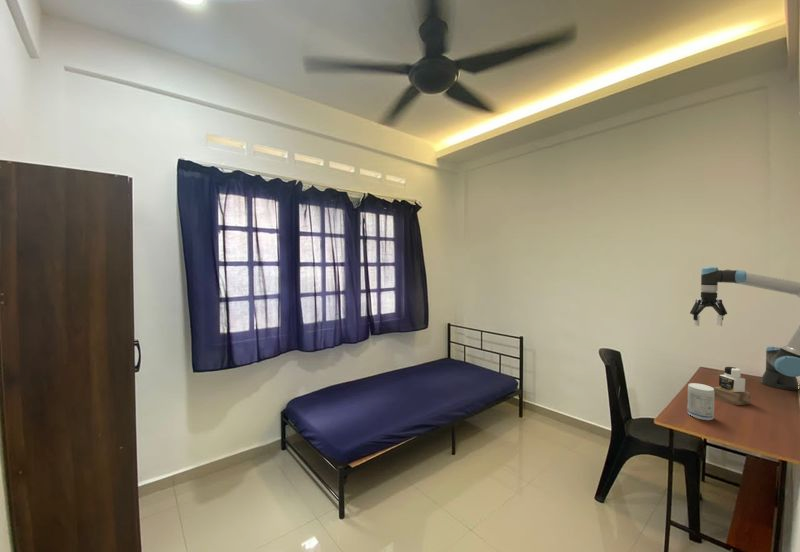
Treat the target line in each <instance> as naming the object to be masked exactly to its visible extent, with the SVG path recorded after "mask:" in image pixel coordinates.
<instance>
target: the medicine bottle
mask: <svg viewBox="0 0 800 552" xmlns="http://www.w3.org/2000/svg"><path fill="white" fill-rule="evenodd" d="M741 373H742V370H741V369H740V368H738V367H733V366H726V367H724V373H723V374H719V376H718V377H719V378H718V387H719V388H722V389H725V390H728V391H730V392H746V379H745V378H744V377H741Z"/></svg>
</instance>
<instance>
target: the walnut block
mask: <svg viewBox="0 0 800 552" xmlns="http://www.w3.org/2000/svg"><path fill="white" fill-rule="evenodd" d="M712 388H714V392H715V394H714V400H719V401H721V402H724V403H727V404H730V405H732V406H741V405H744V406H745V405H750V404H751V392H748V391H745V392H730V391H728V390H725V389H722V388H719V386H713V387H712Z"/></svg>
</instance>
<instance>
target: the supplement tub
mask: <svg viewBox="0 0 800 552" xmlns="http://www.w3.org/2000/svg"><path fill="white" fill-rule="evenodd" d="M687 385H688V386H687V407H686V409H687V414H688V415H689V416H690V415H691V417H692V416H693V417H692V418H695V419H698V420H702V421H711V420H713V419H714V416H715V398H714V394H715V392H714V388H713V387H712V386H709V385H707V384H704V383H703V384H702V383H695V382H691V383H690V382H689V383H688V384H687Z"/></svg>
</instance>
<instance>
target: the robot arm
mask: <svg viewBox="0 0 800 552" xmlns="http://www.w3.org/2000/svg"><path fill="white" fill-rule="evenodd" d="M718 283H723V284H724V283H726V284H727V283H729V284H738V285H743V286H748V287H753V288H759V289H764V290H768V291H774V292H777V293H778V292H779V293H783V294H788V295H789V294H790V295H795V296H797V298H800V281H793V280H789V279H784V278H783V279H782V278H777V277H771V276H765V275H761V274H754V273H749V272H746V270H741V269H740V270H738V269H737V270H736V269H735V270H733V269H725V270H724V269H723V270H722V269H721V270H720V269H719V268H718V267H716V266H714V267H713V266H705V267H702V268H701V274H700V291H701V292H700V298H701V299H699V298H697V299H695V302H694V304H693V306H692V308H691V310H690V312H689V314H690V315H693V316H692V317H693V321H694V322H693V323H694V324H693V325H694V326H696V327H699V326H700V314H701V312H703V310H704V309H705V308H710V307H711V308H712V309H714V311H715V312H716V313H717V314H716V320H717V321H716V325H717V326H719V327H723V321H724V316H726V315H728V311H727V309H726V308H725V305H724V304H723V300H722V299H720V298H719V299H718V289H719V288H718V287H719V286H718ZM765 353H766V354H765V371H764V373H763V374H762V377H761V379H760V383H761V384H763V385H765V386H768V387H771V388H776V389H780V390H787V391H799V390H798V386H799V385H800V384H799V382H798V378H797V377H800V325H799V326H798V327H797V329H796V330H795V332H794V334H793V335H792V337H791V338H790V340H789V341H788V343H787V345H786V346H781V347H779V346H767V347H766V350H765ZM798 384H799V385H798Z"/></svg>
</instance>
